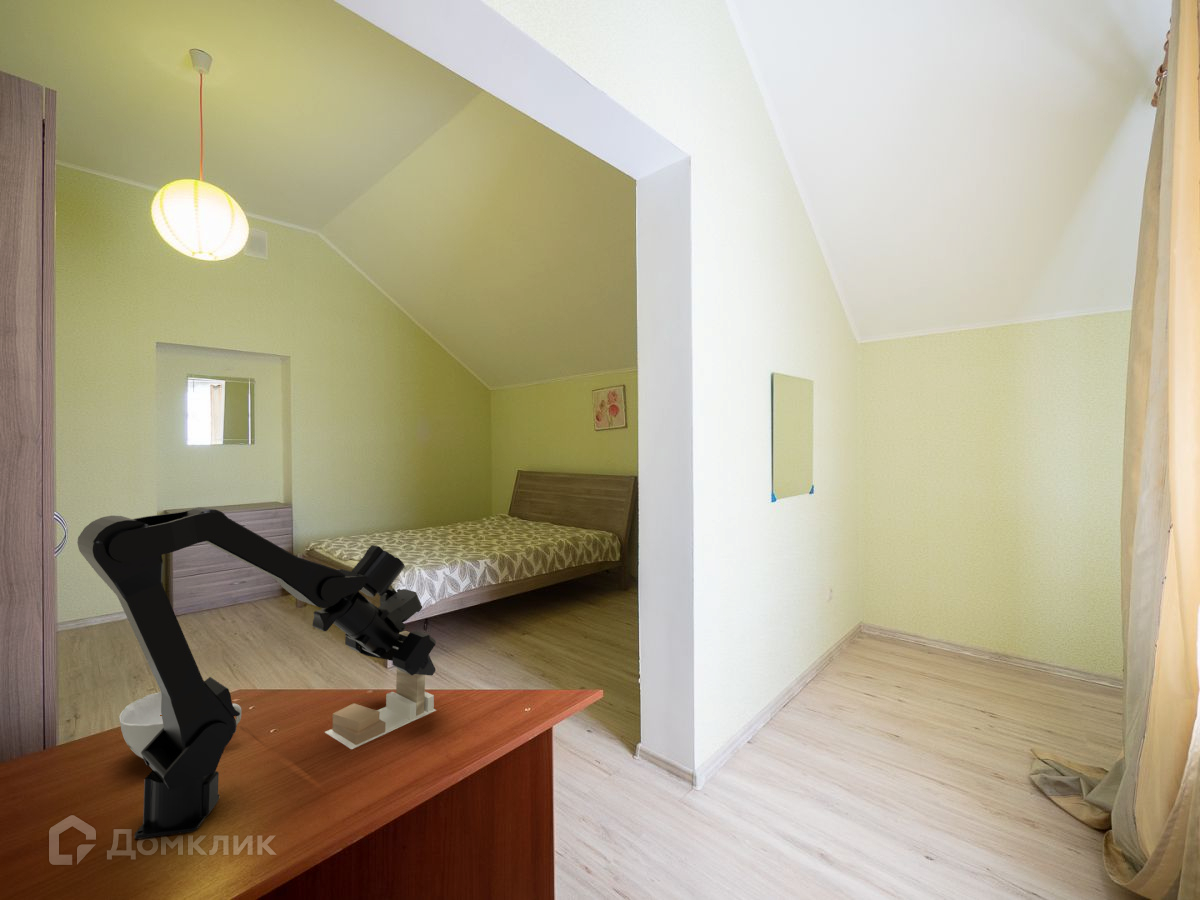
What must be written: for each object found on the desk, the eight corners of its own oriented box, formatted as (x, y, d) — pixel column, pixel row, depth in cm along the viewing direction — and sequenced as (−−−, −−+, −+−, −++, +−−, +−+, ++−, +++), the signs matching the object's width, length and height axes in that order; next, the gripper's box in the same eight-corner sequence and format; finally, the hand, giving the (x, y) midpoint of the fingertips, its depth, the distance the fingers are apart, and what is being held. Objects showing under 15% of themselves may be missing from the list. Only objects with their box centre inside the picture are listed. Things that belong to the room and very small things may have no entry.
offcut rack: (351, 755, 80) (352, 729, 80) (324, 738, 85) (325, 713, 85) (436, 715, 93) (436, 693, 93) (408, 702, 98) (409, 680, 98)
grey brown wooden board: (416, 715, 91) (418, 640, 91) (395, 705, 94) (397, 633, 94) (424, 712, 92) (426, 638, 92) (403, 702, 96) (405, 630, 96)
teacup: (95, 786, 72) (97, 727, 72) (145, 738, 84) (147, 687, 84) (223, 770, 76) (225, 714, 76) (253, 726, 88) (255, 678, 88)
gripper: (427, 587, 85) (478, 637, 94) (363, 570, 96) (414, 616, 105) (381, 650, 78) (440, 697, 87) (318, 624, 89) (376, 668, 98)
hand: (417, 665), depth 94 cm, fingers open, 9 cm apart
